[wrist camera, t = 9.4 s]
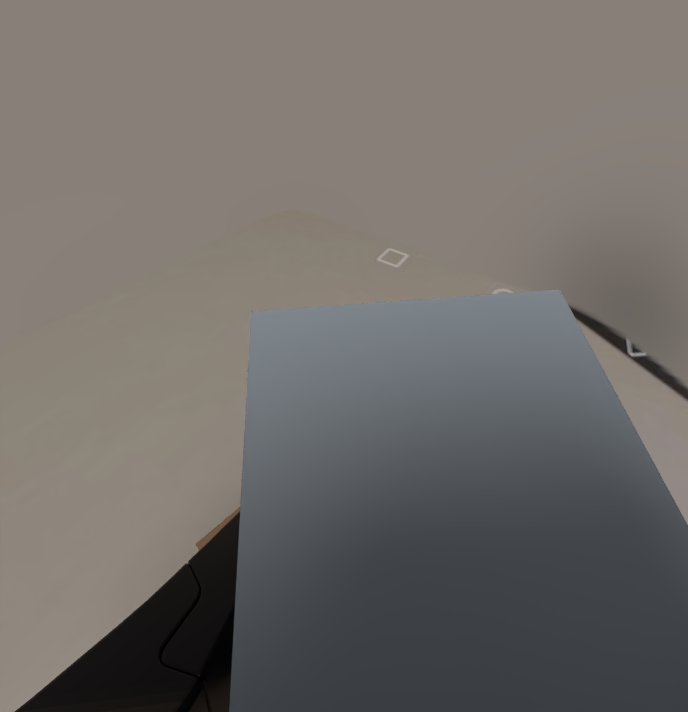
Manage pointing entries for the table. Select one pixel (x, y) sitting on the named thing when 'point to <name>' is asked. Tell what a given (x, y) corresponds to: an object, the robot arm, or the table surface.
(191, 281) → the table surface
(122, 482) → the table surface
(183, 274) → the table surface
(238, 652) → the slate block
